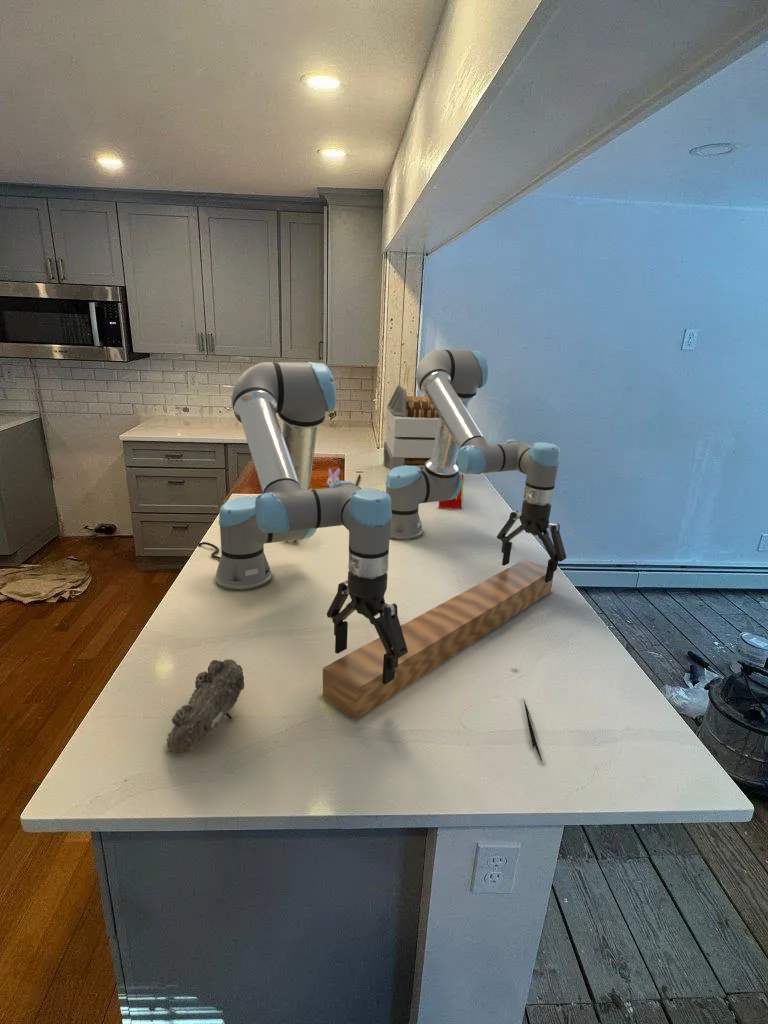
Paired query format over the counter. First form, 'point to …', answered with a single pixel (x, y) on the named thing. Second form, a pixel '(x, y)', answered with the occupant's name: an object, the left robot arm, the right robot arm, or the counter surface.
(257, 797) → the counter surface
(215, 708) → the fossil
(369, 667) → the wooden beam
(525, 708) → the feather
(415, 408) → the grey wooden crate
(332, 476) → the figurine
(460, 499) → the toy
